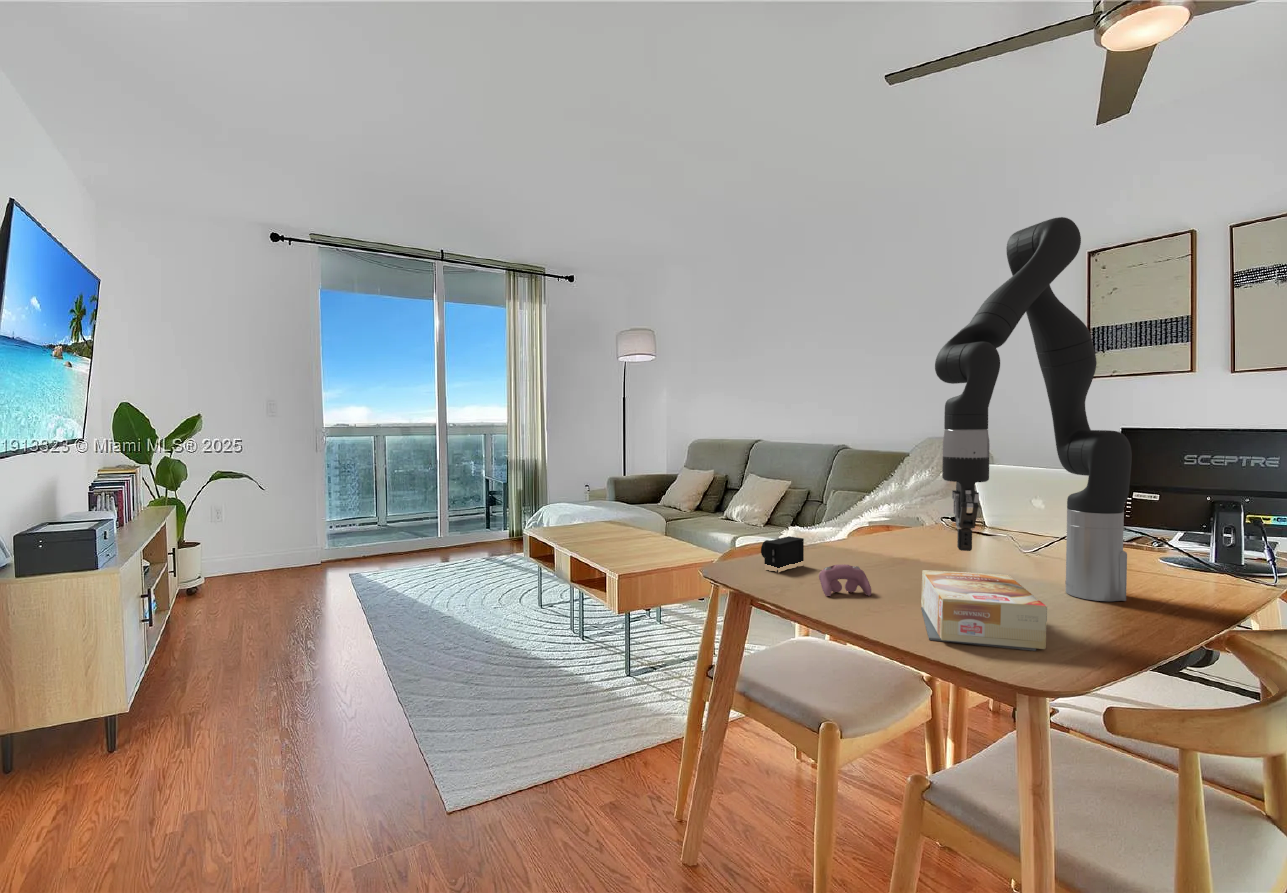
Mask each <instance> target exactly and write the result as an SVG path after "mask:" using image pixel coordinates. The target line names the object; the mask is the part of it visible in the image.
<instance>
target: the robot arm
mask: <svg viewBox="0 0 1287 893" xmlns="http://www.w3.org/2000/svg"><path fill="white" fill-rule="evenodd" d="M1081 244H1082V236H1081V232H1080V229H1079V226H1078V225H1077V224H1076V223H1075V222H1074V221H1073V220H1072V219H1070V218H1068V217H1064V216H1061V217H1060V216H1059V217H1055V218H1054V217H1053V218H1050V219H1046V220H1044V221H1041V222H1038V223H1036V224H1033V225H1031V226H1028V227H1025V228H1023V229H1020V230H1018V231H1015V232H1013V233H1012V234H1011V235H1010V236H1009V238H1008V240H1007V244H1006V258H1007V263H1008V266H1009V267H1008V268H1009V270H1010V272H1011V274H1012V276H1011V277H1010V278H1008V280H1006V281H1005V282H1004V283H1003V284H1001V285H1000V286H999V287H997V288H996V289H995V290H994V291H992V293H991V294H990V295H988V297H987V298H986V299H985V300H984V301H983V303H982V304H981V305H980V306H979V309H978V310H977V311H976V313H975V314H974V315H973V317H972V318H971V319H970V321H969V323H968V324H967V325H965V326H964V327H963V328H961V330H959V331H958V332H957V333H956V334H955V335H953V336H952V337H951V339H949V340H948V341H947V342H945V344H943V346H942V347H941V348H940V350H939V351H938V353H937V356H936V359H935V363H934V370H935V374H936V376H937V377H938V378H939V379H940V380H941V381H942V382H943V383H947V384H953V385H954V384H965V387H964V389H963V391H962V393H961V394H960V395H957V396H953V397H950V398H949V399H947V400H946V401H945V404H944V424H943V425H944V428H943V429H944V430H943V433H944V434H943V438H942V467H941V468H942V471H941V472H942V473H941V474H942V476H941V477H942V479H943V480H944V481H947V482H953V483H956V484H955V489H953V490H951V498H952V500H953V506H952V507H953V515H954V522H955V527H956V529H957V537H956V538H957V540H956V543H957V544H956V546H957V548H958V550H959V551H962V552H971V551H972V550H973V531H974V529H975V528H976V526H977V525H976V522H977V517H978V510H979V508H980V506H979V505H980V504H979V502H980V501H979V500H980V493H979V492H978V491H977V490H976V485H975V484H976V483H987V482H988V481H989V480H990V447H991V446H990V444H991V443H990V438H989V437H990V436H989V407H990V403H991V400H992V397H993V393H994V390H995V387H996V384H997V381H998V376H999V373H1000V371H1001V357H1000V354H999V351H998V348H1000V347H1001V346H1003V345H1004V344H1005V343H1006V342H1007V340H1008V339H1009V338H1010V336H1011V335H1012V333H1013V332H1014V330H1015V328H1016V327H1017V325H1018V324H1019V322H1020V320H1021V319H1022V318H1023V316H1024V315H1025V313H1026V317H1027V320H1028V323H1029V326H1030V331H1031V334H1032V338H1033V344H1034V347H1035V348H1034V349H1035V352H1036V356H1037V360H1038V364H1039V368H1040V371H1041V374H1042V376H1043V381H1044V386H1045V390H1046V393H1047V398H1048V402H1049V407H1050V411H1051V412H1050V413H1051V417H1052V424H1053V433H1054V440H1055V446H1056V448H1055V449H1056V453H1057V456H1058V460H1059V462H1060V464H1061V466H1062V467H1063V468H1064V470H1066V472H1068V473H1070V474H1072V475H1073V474H1074V475H1078V476H1087V477H1088V479H1087V485H1086V487H1085V488H1084V489H1082V490H1081V491H1077V492H1074V493H1071V494H1069V495H1068V496H1067V499H1066V508H1067V509H1066V540H1065V541H1066V542H1065V543H1066V546H1065V548H1066V551H1065V593H1066V594H1068V595H1070V596H1072V597H1076V598H1079V599H1084V600H1088V601H1089V600H1090V601H1096V602H1097V601H1098V602H1099V601H1100V602H1120V601H1123V602H1126V601H1127V582H1128V581H1127V577H1128V576H1127V575H1128V572H1127V571H1128V553H1127V552H1126V551H1125V550H1124V530H1125V528H1124V526H1125V525H1124V520H1125V518H1124V517H1125V504H1126V502H1127V500H1128V497H1129V493H1130V483H1131V474H1132V464H1133V463H1132V459H1133V458H1132V456H1133V453H1132V446H1131V443H1130V441H1129V438H1128V437H1127V436H1126V435H1124V434H1123V433H1122V432H1120V431H1116V430H1110V429H1109V430H1106V429H1104V430H1103V429H1101V430H1100V429H1091V427H1090V424H1089V421H1088V416H1087V412H1086V411H1087V410H1086V399H1087V395H1088V393H1089V389H1090V387H1091V385H1092V382H1093V380H1094V377H1095V374H1096V369H1097V355H1096V351H1095V347H1094V343H1093V340H1092V336H1091V332H1090V330H1089V328H1088V327H1087V326H1086V324H1085V323H1084V321H1083V320H1081V319H1080V318H1079V317H1078V316H1077V314H1075V313H1074V312H1072V310H1071V309H1069V308H1068V307H1067V306H1066V305H1065V304H1064V303H1063V302H1061V300H1059V298H1058V297H1057V296H1056V294H1055V293H1054V292H1053V290H1052V287H1051V283H1052V282H1054V280H1056V278H1057V277H1058V276H1059V275H1060V274H1061V273H1062V272H1063V271H1064V270H1065V269H1066V268H1067V267H1068V266H1069V265H1071V263H1072V262H1073V261H1074V259H1075V258H1076V257H1077V255H1078V254H1079V251H1080V249H1081Z"/></svg>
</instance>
